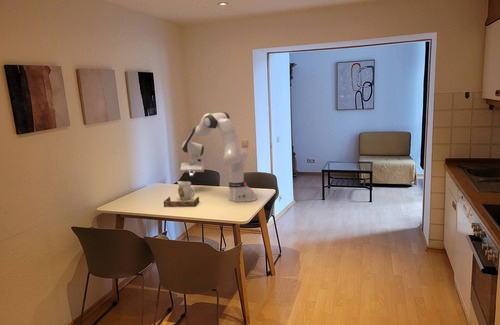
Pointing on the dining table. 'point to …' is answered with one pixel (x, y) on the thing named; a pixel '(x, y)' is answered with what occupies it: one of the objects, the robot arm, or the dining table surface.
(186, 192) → the pitcher
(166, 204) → the tray
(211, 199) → the dining table surface
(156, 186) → the dining table surface
